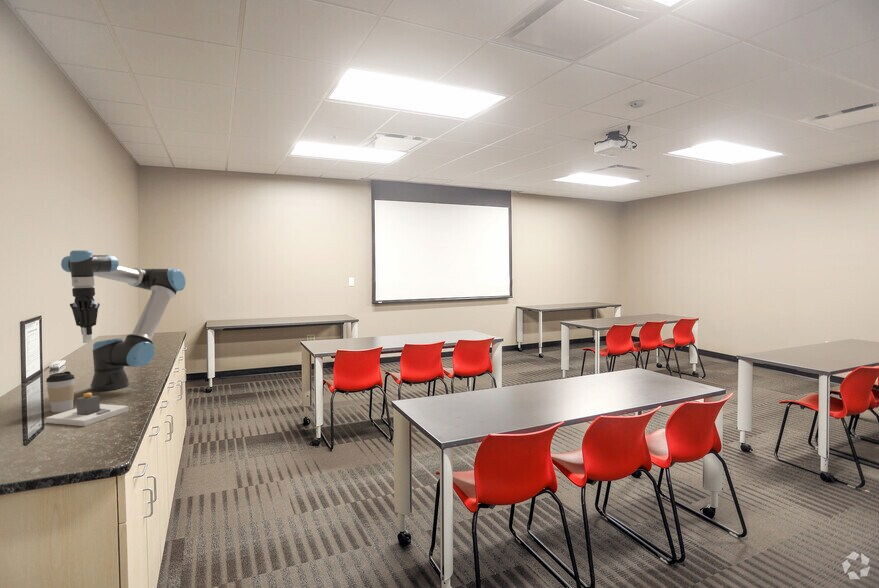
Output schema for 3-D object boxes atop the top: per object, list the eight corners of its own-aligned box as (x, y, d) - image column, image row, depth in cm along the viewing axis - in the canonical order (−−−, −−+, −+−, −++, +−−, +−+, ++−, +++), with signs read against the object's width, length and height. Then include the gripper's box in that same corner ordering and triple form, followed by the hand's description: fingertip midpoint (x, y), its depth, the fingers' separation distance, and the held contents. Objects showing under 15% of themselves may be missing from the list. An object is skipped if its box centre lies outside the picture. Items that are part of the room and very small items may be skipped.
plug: (89, 412, 181) (88, 391, 181) (100, 413, 180) (98, 392, 179) (77, 416, 176) (76, 394, 176) (87, 417, 175) (86, 395, 175)
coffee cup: (60, 413, 182) (58, 376, 181) (41, 412, 184) (39, 375, 183) (82, 406, 191) (80, 371, 190) (64, 405, 193) (62, 370, 192)
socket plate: (92, 408, 189) (92, 401, 189) (128, 410, 185) (128, 404, 185) (46, 422, 171) (45, 415, 171) (85, 426, 167) (84, 419, 167)
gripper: (61, 287, 192) (66, 343, 194) (87, 287, 189) (91, 344, 191) (79, 286, 199) (83, 340, 201) (104, 286, 197) (108, 341, 199)
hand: (87, 342), depth 196 cm, fingers closed
